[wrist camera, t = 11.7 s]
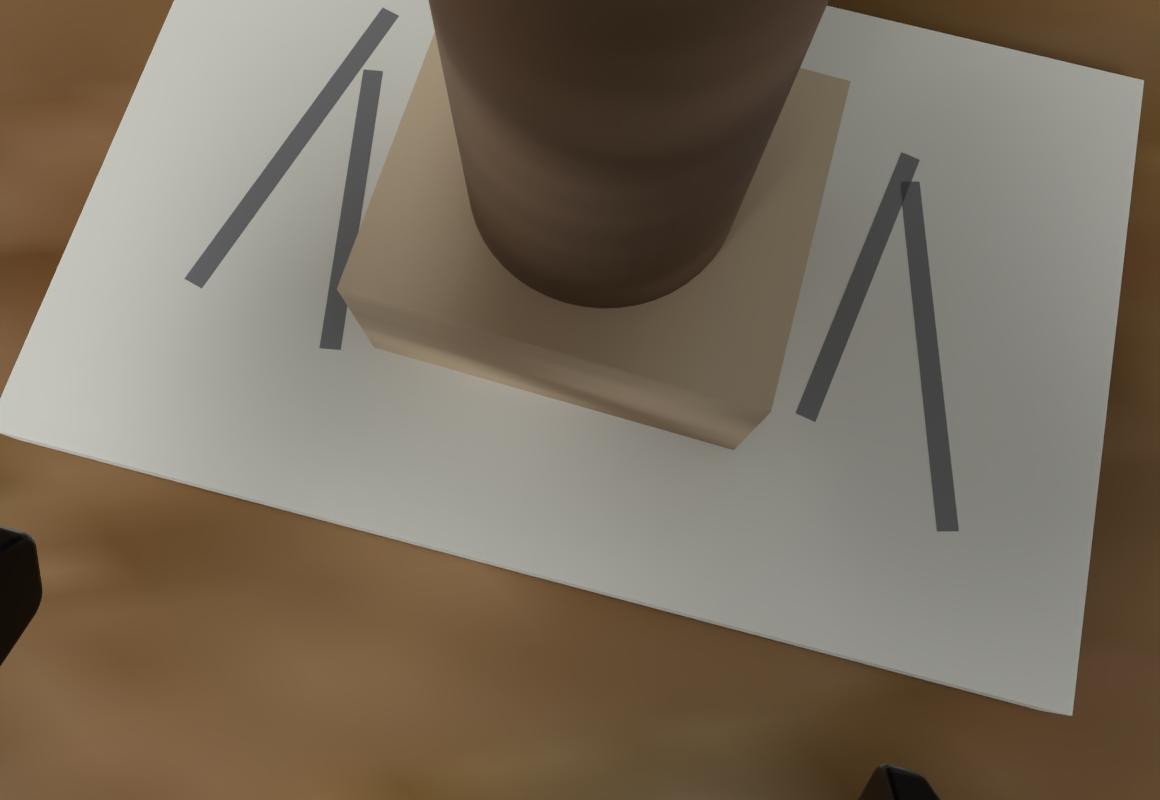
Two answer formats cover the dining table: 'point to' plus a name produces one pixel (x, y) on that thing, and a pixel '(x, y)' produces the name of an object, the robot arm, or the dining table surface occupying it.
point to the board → (608, 443)
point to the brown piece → (605, 204)
